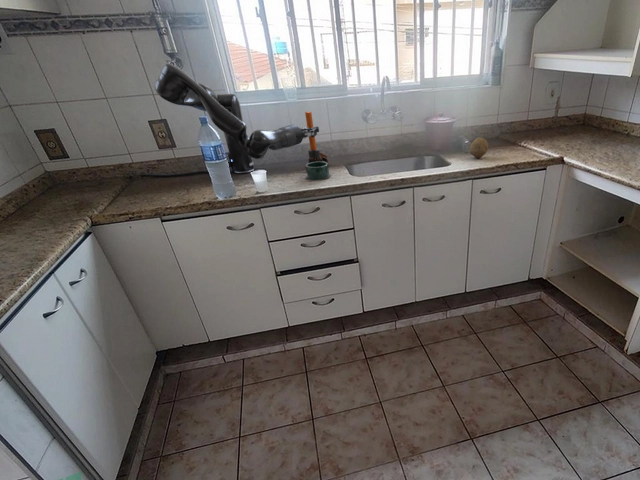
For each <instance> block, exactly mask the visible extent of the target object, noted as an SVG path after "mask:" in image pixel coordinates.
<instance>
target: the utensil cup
mask: <svg viewBox="0 0 640 480" xmlns="http://www.w3.org/2000/svg"><path fill="white" fill-rule="evenodd" d="M305 170H306V176H307V179H308V180H311V181H321V180H326V179H328V178H330V169H329V162H328V163H327V162H325V161H322V162H312V163H306V164H305Z"/></svg>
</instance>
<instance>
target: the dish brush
mask: <svg viewBox="0 0 640 480" xmlns="http://www.w3.org/2000/svg"><path fill="white" fill-rule="evenodd" d="M304 115H305V123H306V127H308V128H312V127H314V121H313V120H314V119H313V114H312V111H305V112H304ZM308 141H309V147H310V149H308V150H307V151H308V159H309V158H318V157H320V153H321V152H320V148H317V141H316V136H315V137H311V136H310V137H308Z"/></svg>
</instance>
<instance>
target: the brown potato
mask: <svg viewBox="0 0 640 480" xmlns="http://www.w3.org/2000/svg"><path fill="white" fill-rule="evenodd" d="M468 149H469V150H468V151H469V153H470V155H471V156H472V157H474V158H476V159H481V158H482V157H483V156H485V155H486V153H487V152H488V150H489V143H488V141H487V140H486V138H484V137H476V138H474V140H473V141H472V142H471V144H470V146H469V148H468Z"/></svg>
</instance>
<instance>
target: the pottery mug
mask: <svg viewBox="0 0 640 480" xmlns="http://www.w3.org/2000/svg"><path fill="white" fill-rule="evenodd" d="M312 162H327V163H328V164H329V160H328V155H326V154H324V153H322V152H320V157H318V158H309V157H308V163H312ZM308 163H307V164H308Z"/></svg>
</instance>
